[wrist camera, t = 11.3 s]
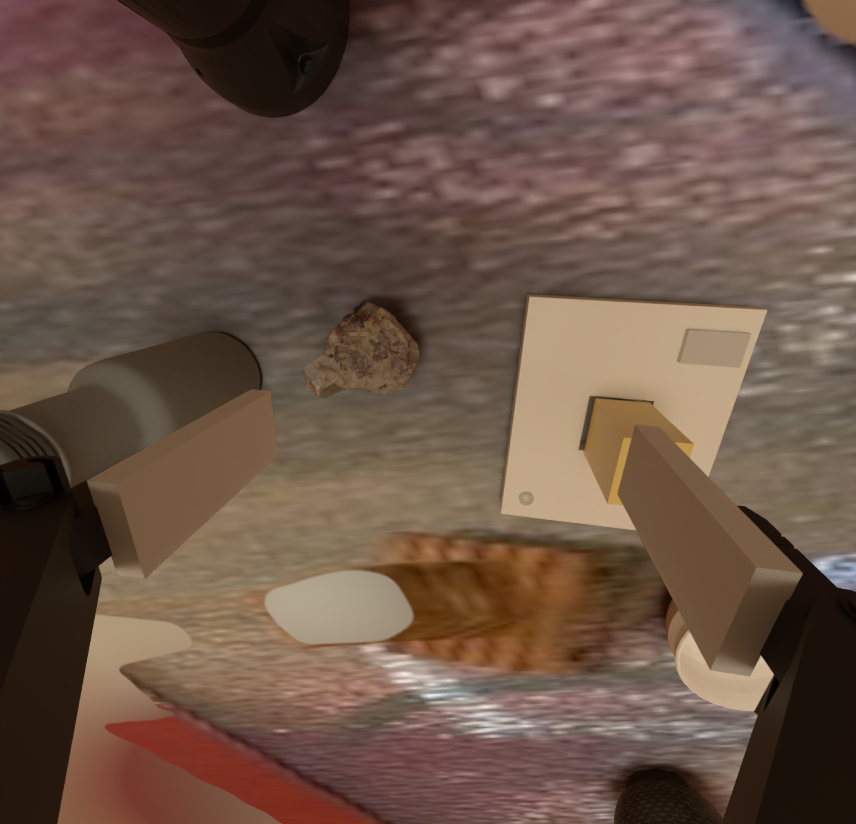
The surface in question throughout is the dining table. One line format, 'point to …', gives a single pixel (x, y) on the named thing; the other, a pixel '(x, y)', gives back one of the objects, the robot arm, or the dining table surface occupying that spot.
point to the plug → (621, 439)
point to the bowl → (712, 683)
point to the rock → (364, 355)
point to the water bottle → (129, 403)
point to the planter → (662, 801)
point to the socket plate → (615, 390)
